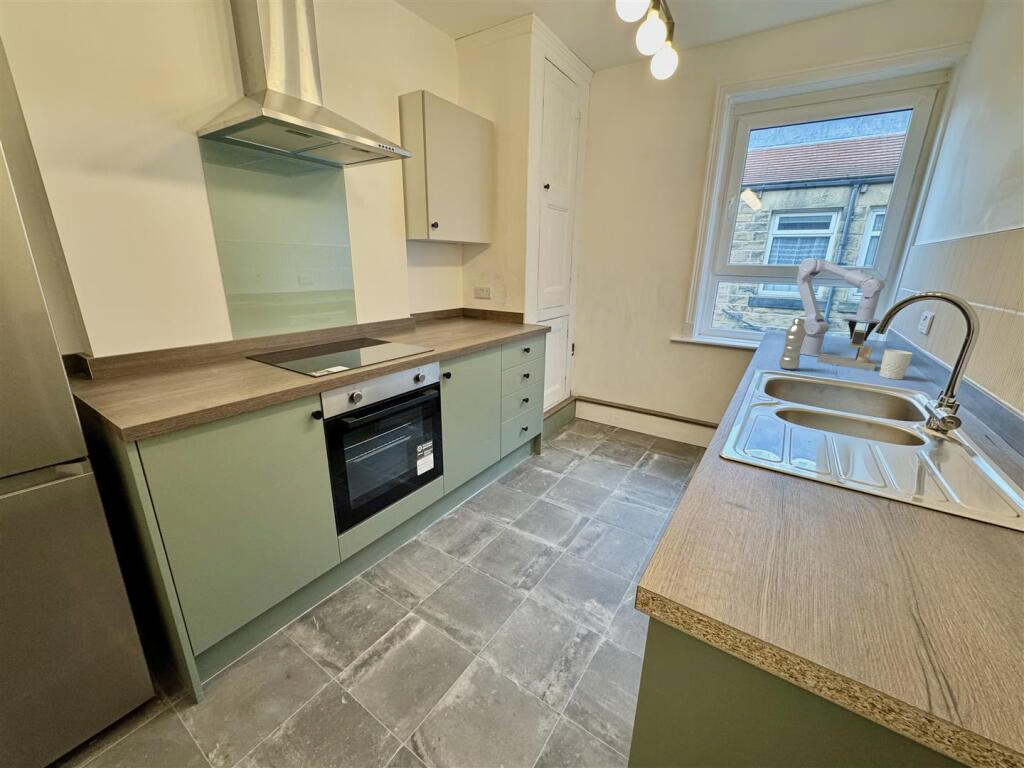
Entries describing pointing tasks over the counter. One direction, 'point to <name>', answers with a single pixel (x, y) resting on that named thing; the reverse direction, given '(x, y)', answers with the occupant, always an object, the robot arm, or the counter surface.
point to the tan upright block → (863, 354)
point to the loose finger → (858, 338)
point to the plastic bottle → (793, 344)
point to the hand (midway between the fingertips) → (857, 339)
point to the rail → (846, 362)
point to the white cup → (895, 363)
